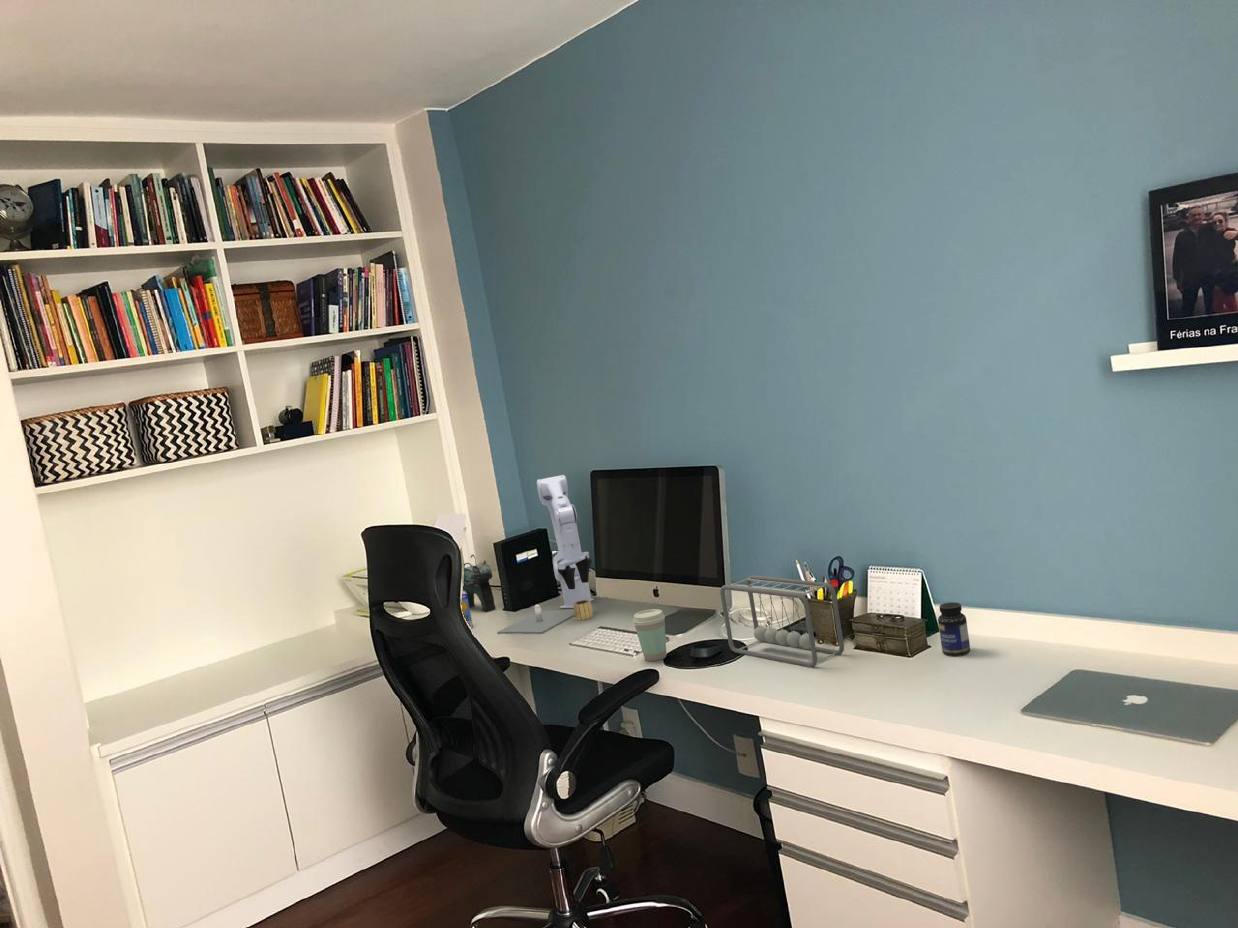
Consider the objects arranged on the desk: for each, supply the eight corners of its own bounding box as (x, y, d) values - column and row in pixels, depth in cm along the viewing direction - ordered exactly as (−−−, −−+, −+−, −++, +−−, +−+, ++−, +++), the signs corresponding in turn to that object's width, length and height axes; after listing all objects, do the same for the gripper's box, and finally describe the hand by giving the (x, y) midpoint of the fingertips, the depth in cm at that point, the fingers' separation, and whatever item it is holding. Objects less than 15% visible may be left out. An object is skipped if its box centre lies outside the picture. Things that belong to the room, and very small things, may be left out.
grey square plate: (538, 612, 334) (534, 595, 333) (581, 611, 324) (578, 594, 323) (497, 633, 315) (493, 615, 315) (542, 633, 306) (538, 614, 305)
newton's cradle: (846, 655, 236) (835, 582, 234) (816, 669, 230) (804, 595, 228) (758, 639, 260) (747, 574, 259) (729, 652, 254) (717, 584, 253)
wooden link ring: (582, 614, 320) (579, 599, 320) (596, 614, 317) (593, 599, 317) (572, 620, 315) (569, 604, 315) (586, 620, 312) (584, 604, 312)
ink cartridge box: (444, 635, 325) (436, 592, 324) (442, 631, 331) (434, 589, 329) (474, 628, 328) (466, 585, 327) (471, 624, 333) (463, 582, 332)
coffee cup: (676, 651, 263) (668, 607, 262) (664, 662, 255) (656, 617, 254) (647, 652, 266) (639, 609, 265) (634, 663, 259) (626, 618, 258)
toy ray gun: (500, 609, 349) (490, 553, 347) (484, 614, 346) (473, 558, 344) (474, 603, 365) (463, 550, 363) (458, 608, 362) (448, 555, 360)
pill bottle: (937, 654, 225) (930, 607, 224) (951, 646, 229) (945, 600, 228) (961, 658, 220) (954, 610, 219) (976, 649, 224) (969, 602, 223)
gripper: (568, 549, 306) (576, 591, 307) (593, 537, 318) (601, 579, 319) (549, 550, 309) (557, 592, 311) (575, 539, 322) (583, 579, 323)
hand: (578, 585), depth 315 cm, fingers open, 7 cm apart
